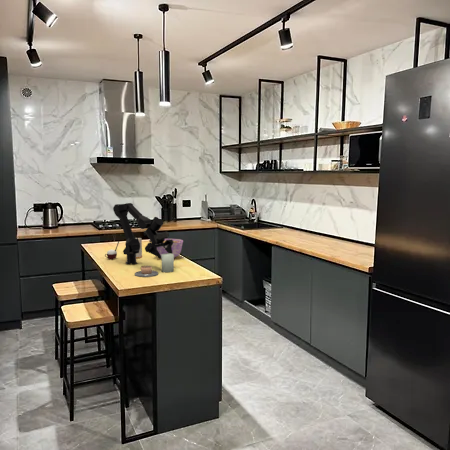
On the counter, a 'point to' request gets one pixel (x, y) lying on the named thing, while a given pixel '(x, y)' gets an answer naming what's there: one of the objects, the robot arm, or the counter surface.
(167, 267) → the white cylinder
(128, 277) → the counter surface
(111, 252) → the cocoa
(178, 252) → the bowl of food
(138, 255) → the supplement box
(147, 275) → the cup on gray saucer
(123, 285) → the counter surface
